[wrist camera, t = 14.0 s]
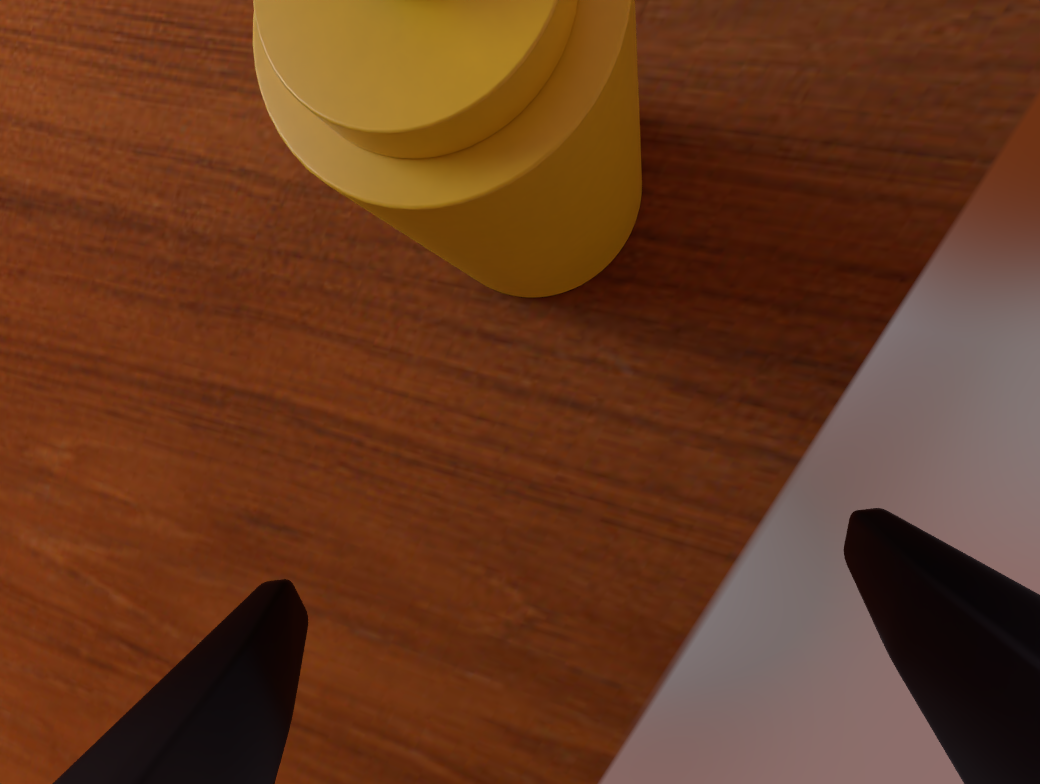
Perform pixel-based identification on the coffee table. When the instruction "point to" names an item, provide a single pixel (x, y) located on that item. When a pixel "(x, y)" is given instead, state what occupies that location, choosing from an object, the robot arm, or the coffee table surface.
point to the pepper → (468, 124)
